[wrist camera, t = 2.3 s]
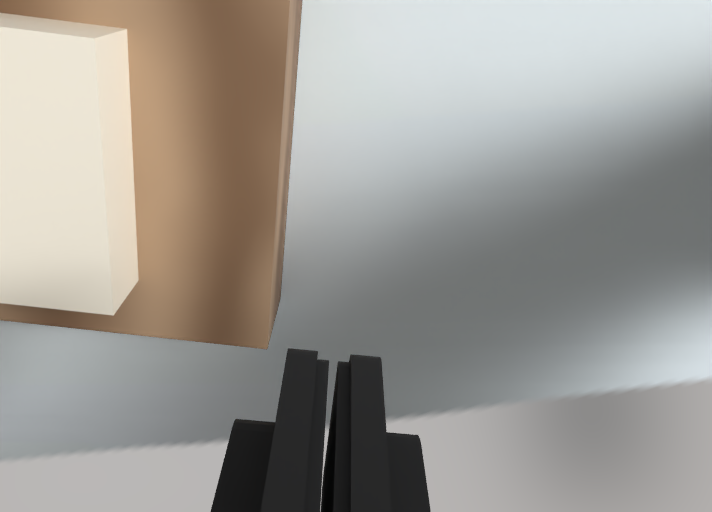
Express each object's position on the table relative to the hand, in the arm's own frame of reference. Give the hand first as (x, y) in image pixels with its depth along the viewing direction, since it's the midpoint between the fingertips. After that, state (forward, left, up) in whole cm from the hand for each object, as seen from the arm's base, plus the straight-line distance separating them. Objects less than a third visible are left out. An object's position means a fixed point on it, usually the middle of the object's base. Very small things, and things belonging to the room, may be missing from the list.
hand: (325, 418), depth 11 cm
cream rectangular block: (+10, 0, -11) cm, 15 cm away
